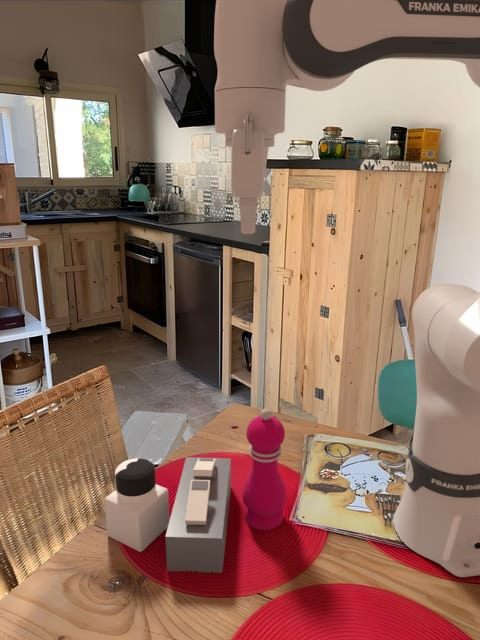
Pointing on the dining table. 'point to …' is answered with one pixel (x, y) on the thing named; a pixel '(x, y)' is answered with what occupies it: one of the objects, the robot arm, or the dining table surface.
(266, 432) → the pepper mill
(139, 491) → the medicine bottle
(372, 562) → the dining table surface
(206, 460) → the paddle
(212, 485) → the breaker panel
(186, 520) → the paddle on
